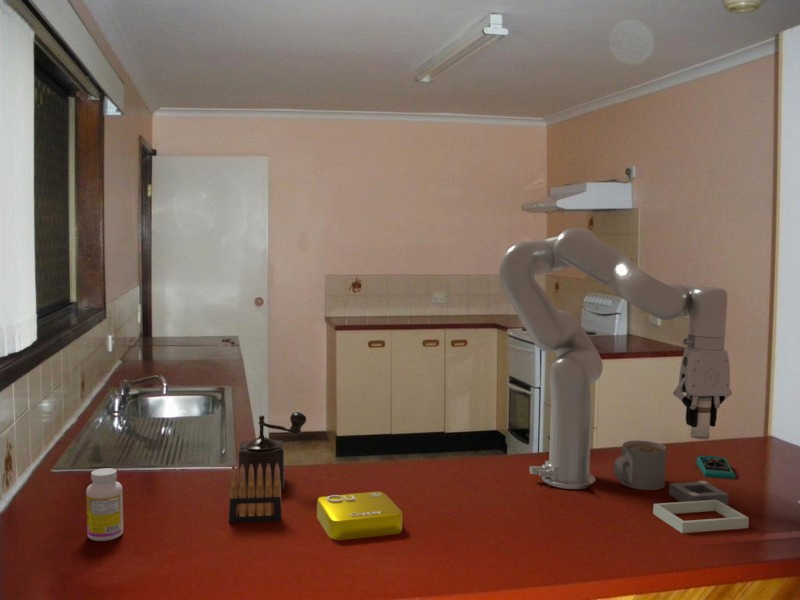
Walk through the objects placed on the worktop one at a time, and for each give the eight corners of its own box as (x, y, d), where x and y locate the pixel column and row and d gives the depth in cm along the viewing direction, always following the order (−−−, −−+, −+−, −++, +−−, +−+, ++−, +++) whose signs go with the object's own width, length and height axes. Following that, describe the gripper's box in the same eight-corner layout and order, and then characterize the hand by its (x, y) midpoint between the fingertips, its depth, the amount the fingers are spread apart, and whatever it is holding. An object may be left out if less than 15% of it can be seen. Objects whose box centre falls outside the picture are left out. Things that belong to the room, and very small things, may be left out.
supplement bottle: (95, 528, 163) (94, 465, 162) (128, 529, 163) (127, 466, 161) (81, 541, 156) (79, 476, 155) (115, 542, 156) (114, 477, 155)
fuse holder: (691, 512, 177) (692, 495, 177) (668, 498, 186) (669, 482, 186) (727, 509, 179) (728, 493, 179) (704, 496, 188) (704, 480, 188)
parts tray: (681, 537, 163) (682, 522, 163) (652, 518, 174) (653, 503, 173) (748, 532, 166) (748, 517, 166) (715, 513, 177) (716, 499, 177)
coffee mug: (649, 479, 200) (651, 439, 199) (672, 492, 190) (675, 450, 189) (600, 483, 197) (601, 442, 196) (621, 496, 187) (623, 453, 186)
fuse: (697, 439, 179) (699, 398, 178) (687, 434, 183) (689, 394, 182) (712, 439, 180) (715, 397, 179) (702, 434, 184) (705, 394, 183)
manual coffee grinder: (237, 494, 185) (237, 416, 183) (239, 478, 196) (239, 404, 194) (306, 491, 187) (307, 414, 185) (304, 476, 198) (305, 403, 196)
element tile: (331, 543, 159) (331, 519, 158) (314, 516, 173) (315, 494, 172) (404, 535, 163) (405, 511, 163) (382, 509, 177) (383, 488, 177)
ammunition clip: (281, 517, 171) (281, 461, 169) (281, 521, 169) (281, 464, 168) (229, 519, 169) (229, 463, 168) (228, 523, 167) (228, 465, 166)
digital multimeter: (725, 467, 212) (726, 456, 212) (735, 484, 198) (736, 473, 198) (696, 465, 214) (696, 454, 214) (703, 482, 200) (704, 470, 199)
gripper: (681, 346, 174) (676, 431, 176) (750, 345, 177) (744, 428, 179) (662, 341, 181) (657, 422, 183) (729, 340, 185) (723, 420, 187)
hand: (700, 424), depth 181 cm, fingers closed on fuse, 3 cm apart
